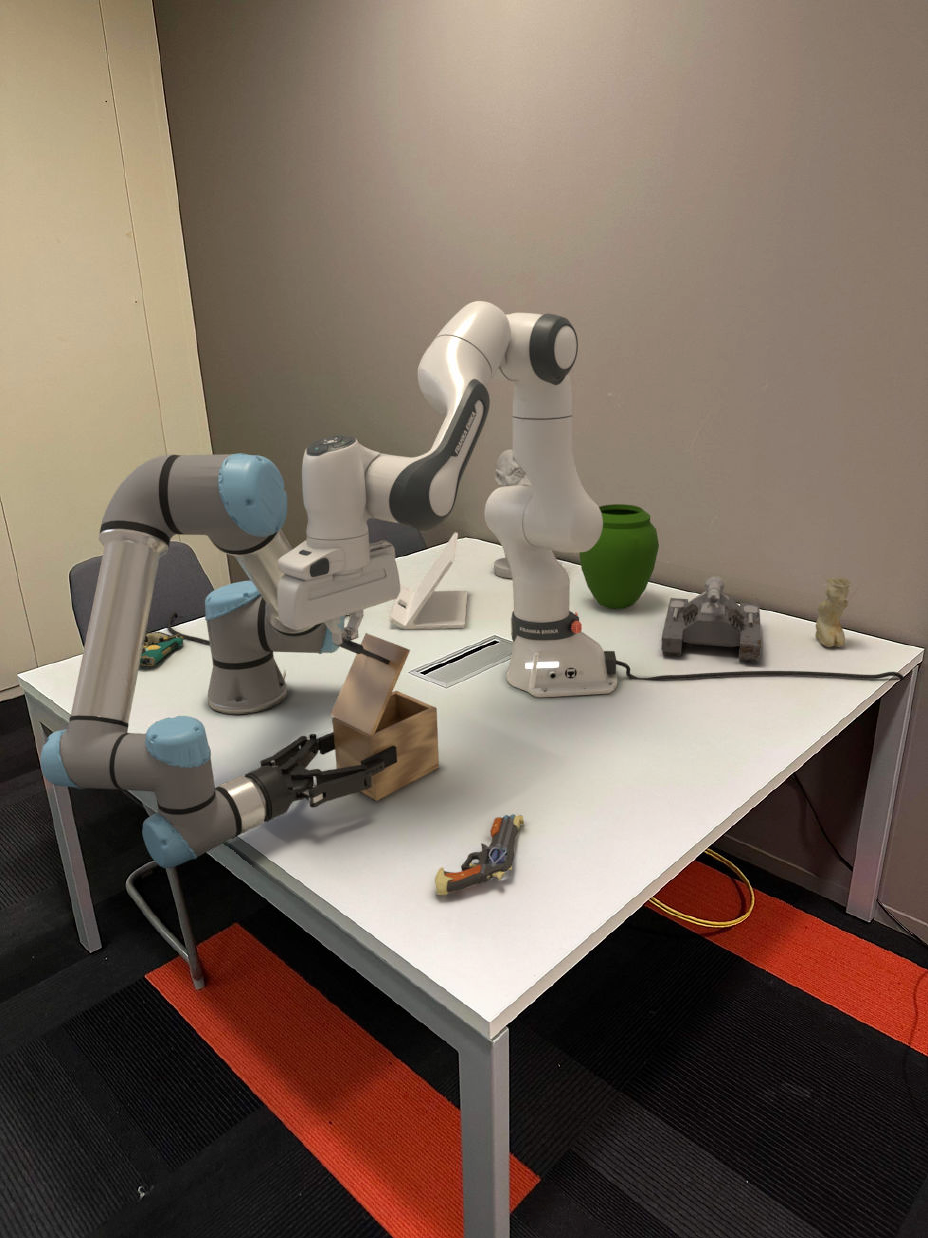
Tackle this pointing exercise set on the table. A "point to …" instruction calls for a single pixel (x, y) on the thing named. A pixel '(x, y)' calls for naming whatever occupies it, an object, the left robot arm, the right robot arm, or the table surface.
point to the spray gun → (158, 647)
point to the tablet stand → (432, 599)
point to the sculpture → (832, 613)
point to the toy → (713, 622)
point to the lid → (369, 682)
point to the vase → (621, 556)
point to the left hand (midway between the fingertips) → (373, 742)
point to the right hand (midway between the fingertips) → (345, 640)
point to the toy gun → (484, 858)
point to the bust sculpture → (505, 476)
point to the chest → (393, 744)
